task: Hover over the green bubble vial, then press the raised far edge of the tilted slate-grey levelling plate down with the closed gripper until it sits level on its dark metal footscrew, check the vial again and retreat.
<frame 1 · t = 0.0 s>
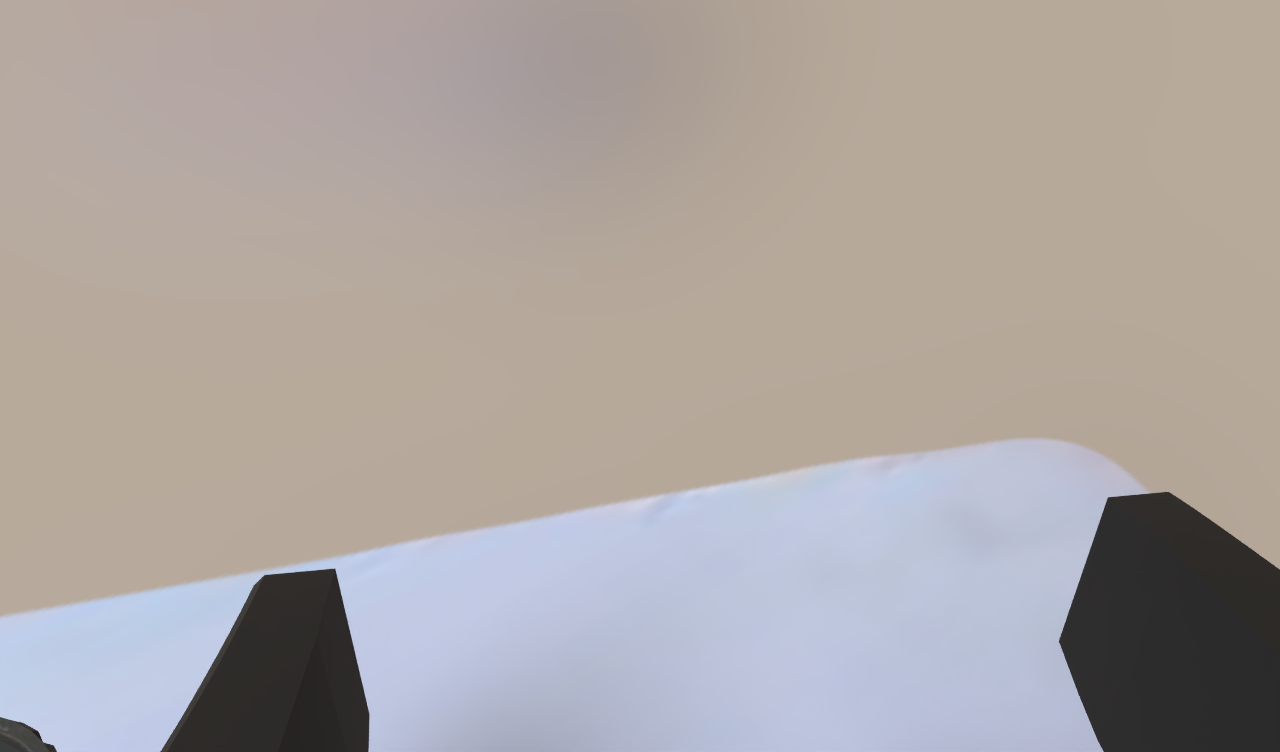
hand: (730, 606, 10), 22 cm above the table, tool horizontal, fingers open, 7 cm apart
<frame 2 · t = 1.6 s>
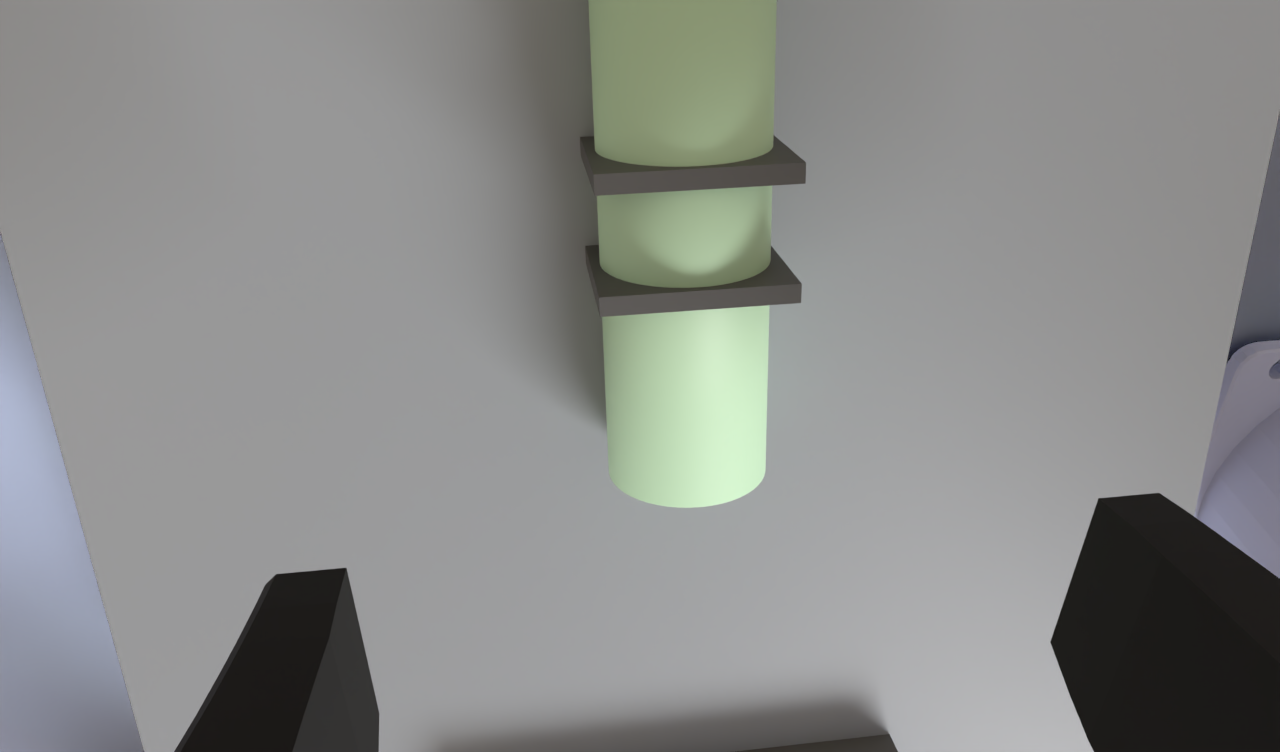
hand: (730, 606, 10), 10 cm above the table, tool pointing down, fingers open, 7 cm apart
level plate: (679, 372, 12), point 7 cm above the table, hinge at 12.0°
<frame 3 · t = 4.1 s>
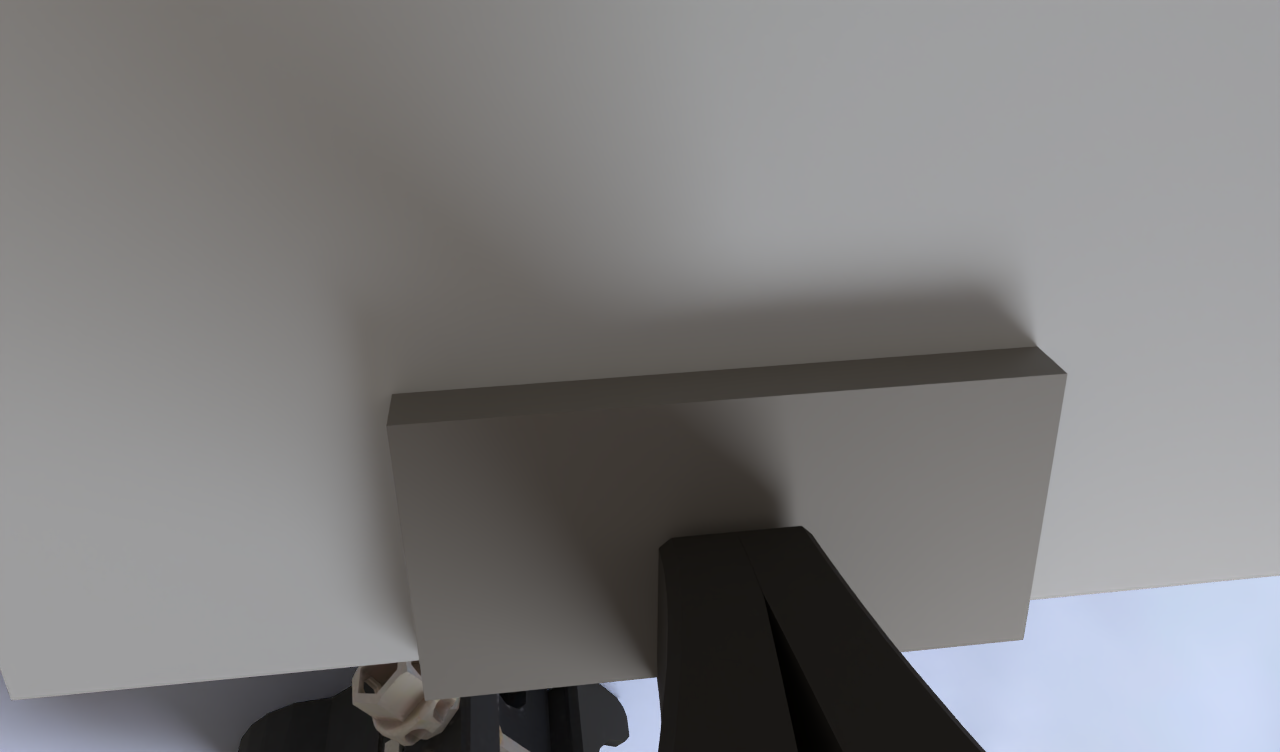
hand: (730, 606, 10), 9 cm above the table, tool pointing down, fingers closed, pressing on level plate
scope: (369, 729, 25), on the table
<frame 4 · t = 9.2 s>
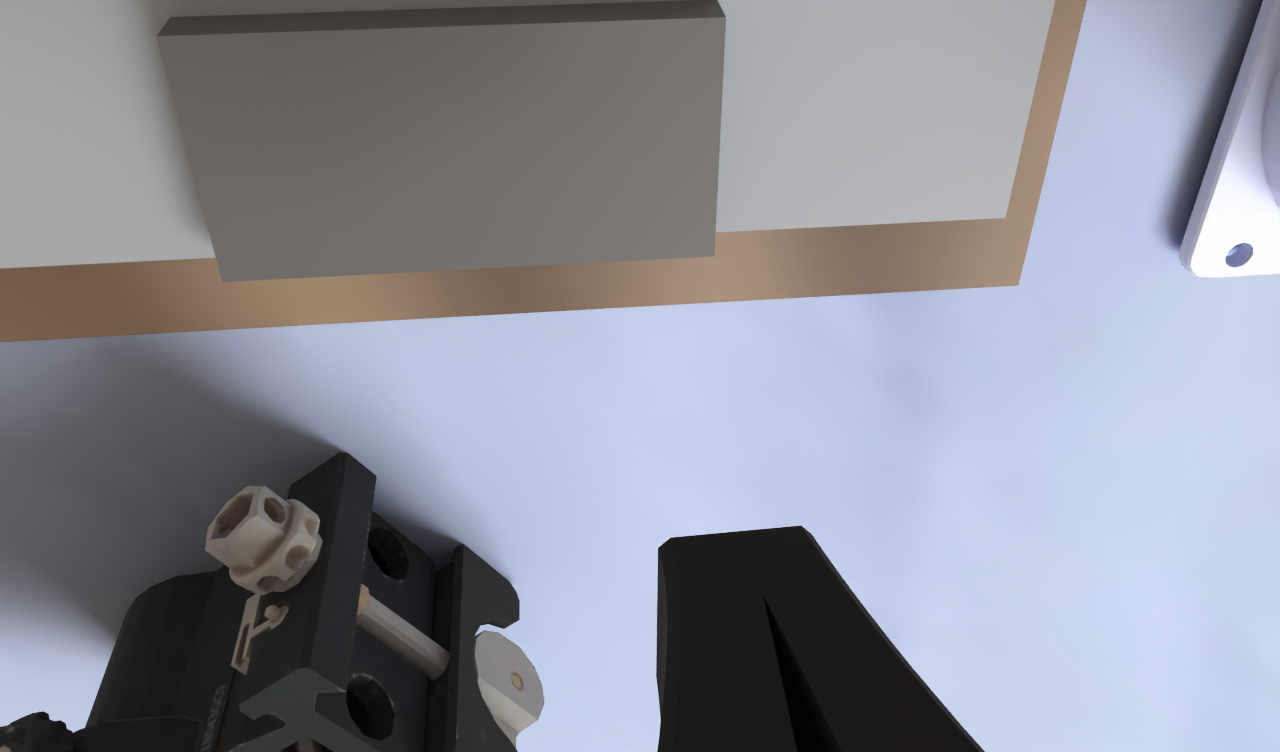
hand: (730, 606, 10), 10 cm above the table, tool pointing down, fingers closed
scope: (259, 610, 25), on the table
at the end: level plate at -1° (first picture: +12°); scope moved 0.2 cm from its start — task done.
